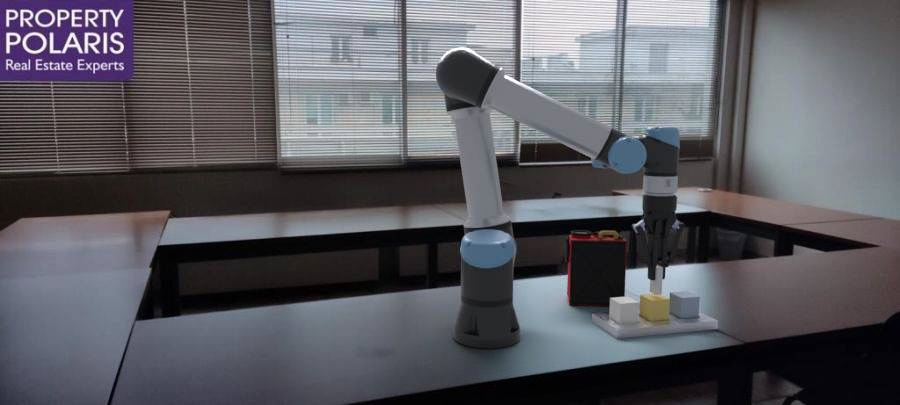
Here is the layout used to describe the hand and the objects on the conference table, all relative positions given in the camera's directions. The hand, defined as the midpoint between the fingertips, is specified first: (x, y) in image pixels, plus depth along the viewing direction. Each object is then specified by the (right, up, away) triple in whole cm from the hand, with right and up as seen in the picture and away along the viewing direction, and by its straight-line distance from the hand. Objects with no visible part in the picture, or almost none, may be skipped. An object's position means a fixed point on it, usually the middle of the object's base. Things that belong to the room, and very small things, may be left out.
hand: (655, 292), depth 141 cm
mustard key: (0, -6, +1) cm, 6 cm away
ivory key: (-8, -6, -1) cm, 10 cm away
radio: (-10, -6, +20) cm, 23 cm away
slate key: (+8, -6, +3) cm, 10 cm away
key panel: (0, -8, +1) cm, 8 cm away
